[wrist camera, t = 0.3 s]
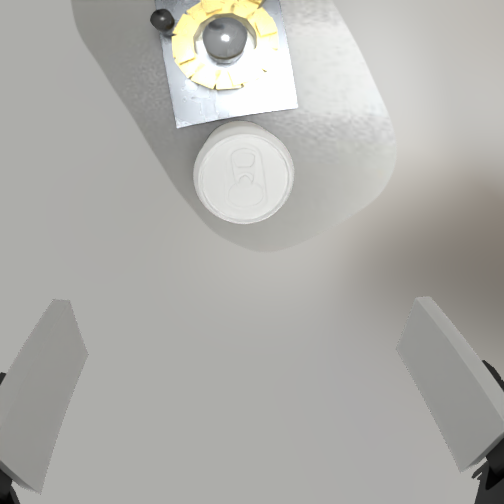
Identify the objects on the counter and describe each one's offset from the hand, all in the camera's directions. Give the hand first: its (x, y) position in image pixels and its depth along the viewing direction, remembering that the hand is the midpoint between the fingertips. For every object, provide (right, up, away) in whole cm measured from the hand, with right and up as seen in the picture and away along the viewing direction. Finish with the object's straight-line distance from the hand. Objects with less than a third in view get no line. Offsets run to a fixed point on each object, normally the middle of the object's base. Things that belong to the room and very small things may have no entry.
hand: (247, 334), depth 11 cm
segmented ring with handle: (-1, +26, +15) cm, 30 cm away
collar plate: (-3, +25, +17) cm, 30 cm away
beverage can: (-1, +14, +23) cm, 27 cm away
